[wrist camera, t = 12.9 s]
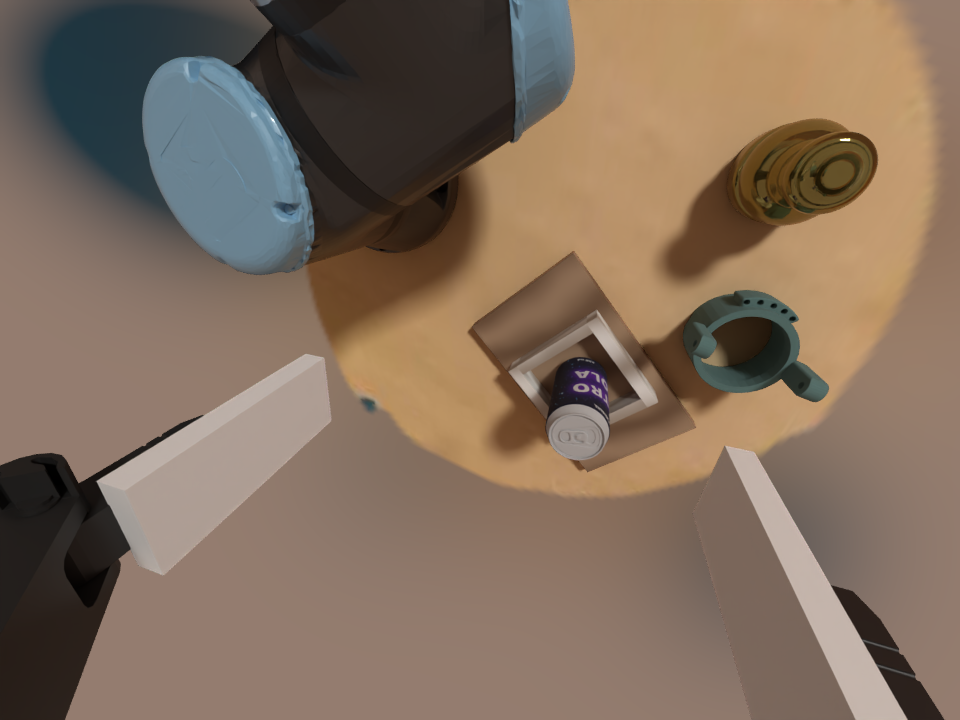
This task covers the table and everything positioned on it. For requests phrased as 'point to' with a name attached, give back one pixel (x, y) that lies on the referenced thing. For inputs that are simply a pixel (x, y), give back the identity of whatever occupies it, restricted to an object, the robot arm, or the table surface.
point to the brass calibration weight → (801, 172)
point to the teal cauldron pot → (765, 366)
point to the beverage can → (579, 409)
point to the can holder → (583, 333)
